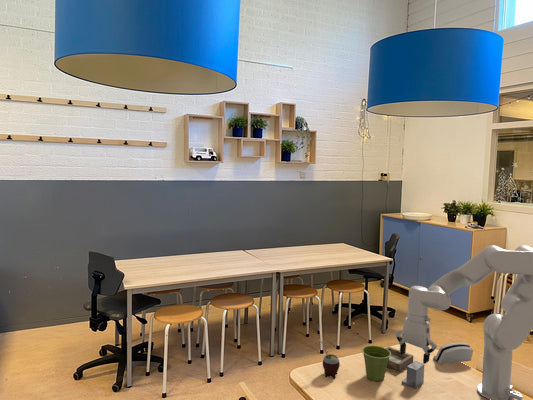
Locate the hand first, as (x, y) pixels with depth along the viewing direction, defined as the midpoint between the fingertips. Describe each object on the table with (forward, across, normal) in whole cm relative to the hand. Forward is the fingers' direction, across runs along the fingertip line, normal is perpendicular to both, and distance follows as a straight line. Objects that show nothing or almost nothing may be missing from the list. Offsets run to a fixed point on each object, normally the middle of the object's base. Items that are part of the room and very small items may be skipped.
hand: (413, 358), depth 163 cm
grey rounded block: (+11, -4, -32) cm, 34 cm away
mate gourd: (+12, +27, +19) cm, 35 cm away
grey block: (+11, -1, -1) cm, 11 cm away
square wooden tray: (+11, +14, -11) cm, 21 cm away
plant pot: (+12, +13, +6) cm, 19 cm away
